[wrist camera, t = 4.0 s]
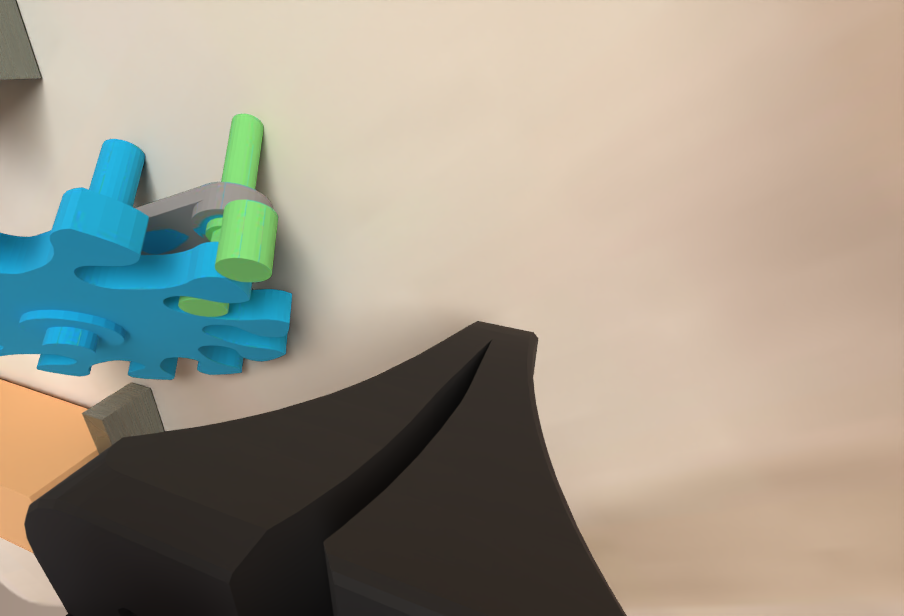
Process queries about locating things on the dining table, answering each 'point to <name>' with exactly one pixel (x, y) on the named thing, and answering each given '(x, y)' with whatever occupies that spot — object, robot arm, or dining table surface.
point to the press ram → (36, 452)
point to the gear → (149, 272)
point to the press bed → (131, 408)
